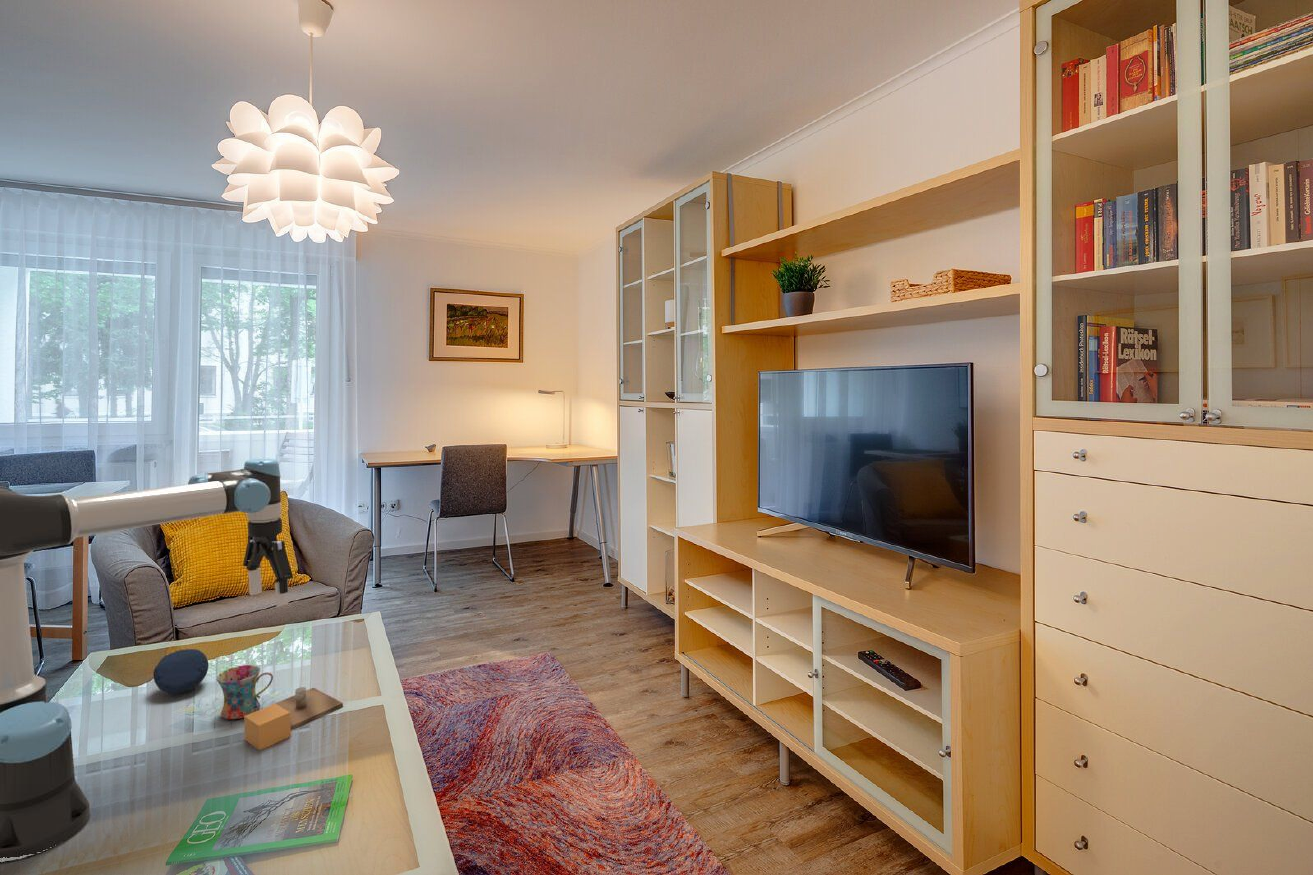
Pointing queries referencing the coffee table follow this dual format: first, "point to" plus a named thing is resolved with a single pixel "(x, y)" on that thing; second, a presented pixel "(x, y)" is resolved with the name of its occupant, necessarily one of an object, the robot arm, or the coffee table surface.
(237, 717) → the mug
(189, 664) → the decorative stone
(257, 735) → the tan cardboard box
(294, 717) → the post board
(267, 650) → the coffee table surface
